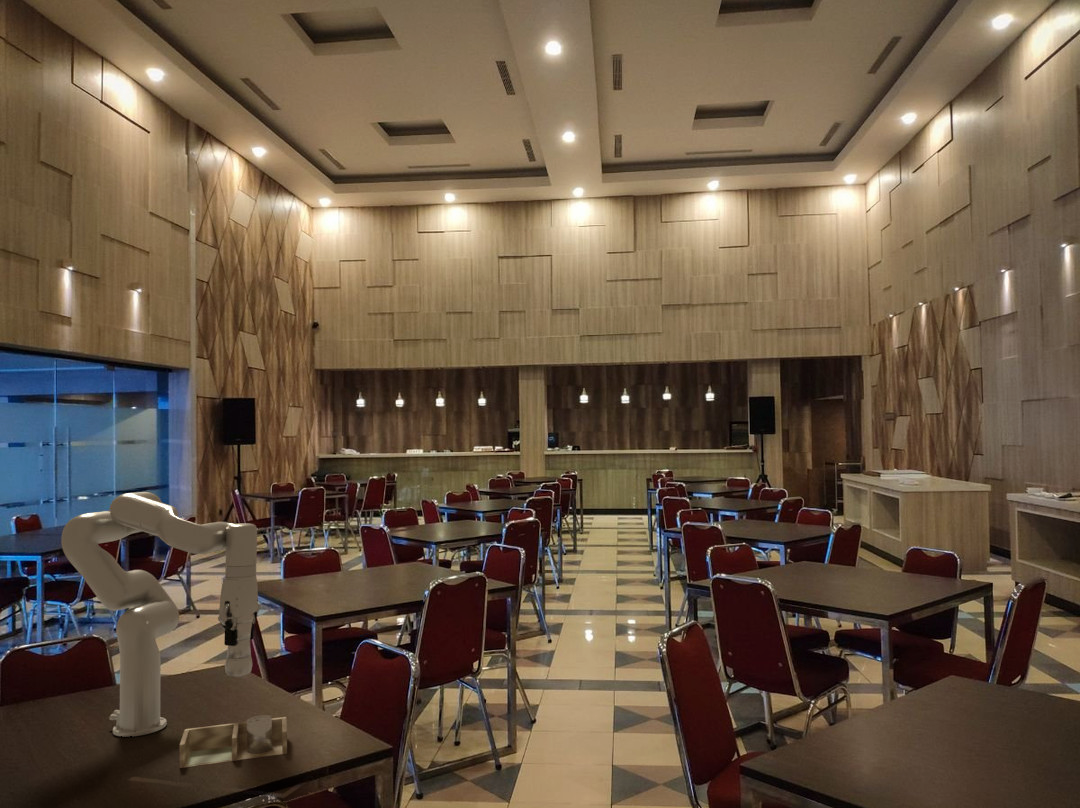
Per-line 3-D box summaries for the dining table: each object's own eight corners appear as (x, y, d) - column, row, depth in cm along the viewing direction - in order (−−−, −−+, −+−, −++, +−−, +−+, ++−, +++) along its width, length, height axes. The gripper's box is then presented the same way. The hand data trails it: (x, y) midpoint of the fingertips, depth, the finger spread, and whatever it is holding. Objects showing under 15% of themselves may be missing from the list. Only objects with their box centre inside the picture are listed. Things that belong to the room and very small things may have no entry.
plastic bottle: (243, 680, 200) (245, 599, 201) (219, 678, 201) (221, 598, 202) (257, 673, 206) (259, 595, 207) (233, 671, 207) (235, 594, 209)
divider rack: (179, 771, 178) (179, 744, 178) (184, 754, 188) (184, 729, 189) (286, 756, 185) (286, 731, 185) (286, 740, 195) (286, 716, 196)
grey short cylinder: (242, 753, 186) (241, 722, 186) (256, 744, 191) (255, 714, 192) (264, 753, 185) (263, 723, 185) (277, 744, 190) (276, 715, 191)
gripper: (249, 566, 214) (247, 633, 213) (205, 576, 198) (203, 649, 197) (273, 567, 212) (272, 635, 211) (231, 577, 196) (229, 651, 195)
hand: (239, 641), depth 204 cm, fingers closed on plastic bottle, 6 cm apart
